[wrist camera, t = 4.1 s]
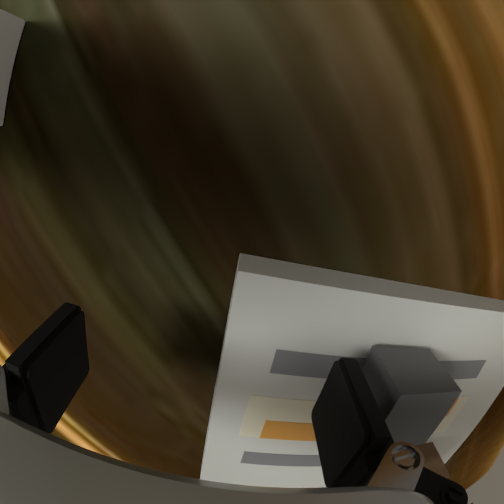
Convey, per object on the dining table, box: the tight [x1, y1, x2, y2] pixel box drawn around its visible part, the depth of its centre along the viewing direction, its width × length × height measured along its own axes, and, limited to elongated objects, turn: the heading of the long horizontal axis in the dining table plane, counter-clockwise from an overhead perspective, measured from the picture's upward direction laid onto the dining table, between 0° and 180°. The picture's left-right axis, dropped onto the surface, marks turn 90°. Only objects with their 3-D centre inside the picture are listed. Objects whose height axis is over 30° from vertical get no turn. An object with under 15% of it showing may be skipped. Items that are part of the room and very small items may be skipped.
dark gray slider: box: [362, 345, 462, 445], centre depth 10 cm, size 3×3×3 cm
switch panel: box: [200, 253, 504, 488], centre depth 14 cm, size 14×18×2 cm
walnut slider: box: [415, 442, 450, 478], centre depth 12 cm, size 3×3×3 cm
